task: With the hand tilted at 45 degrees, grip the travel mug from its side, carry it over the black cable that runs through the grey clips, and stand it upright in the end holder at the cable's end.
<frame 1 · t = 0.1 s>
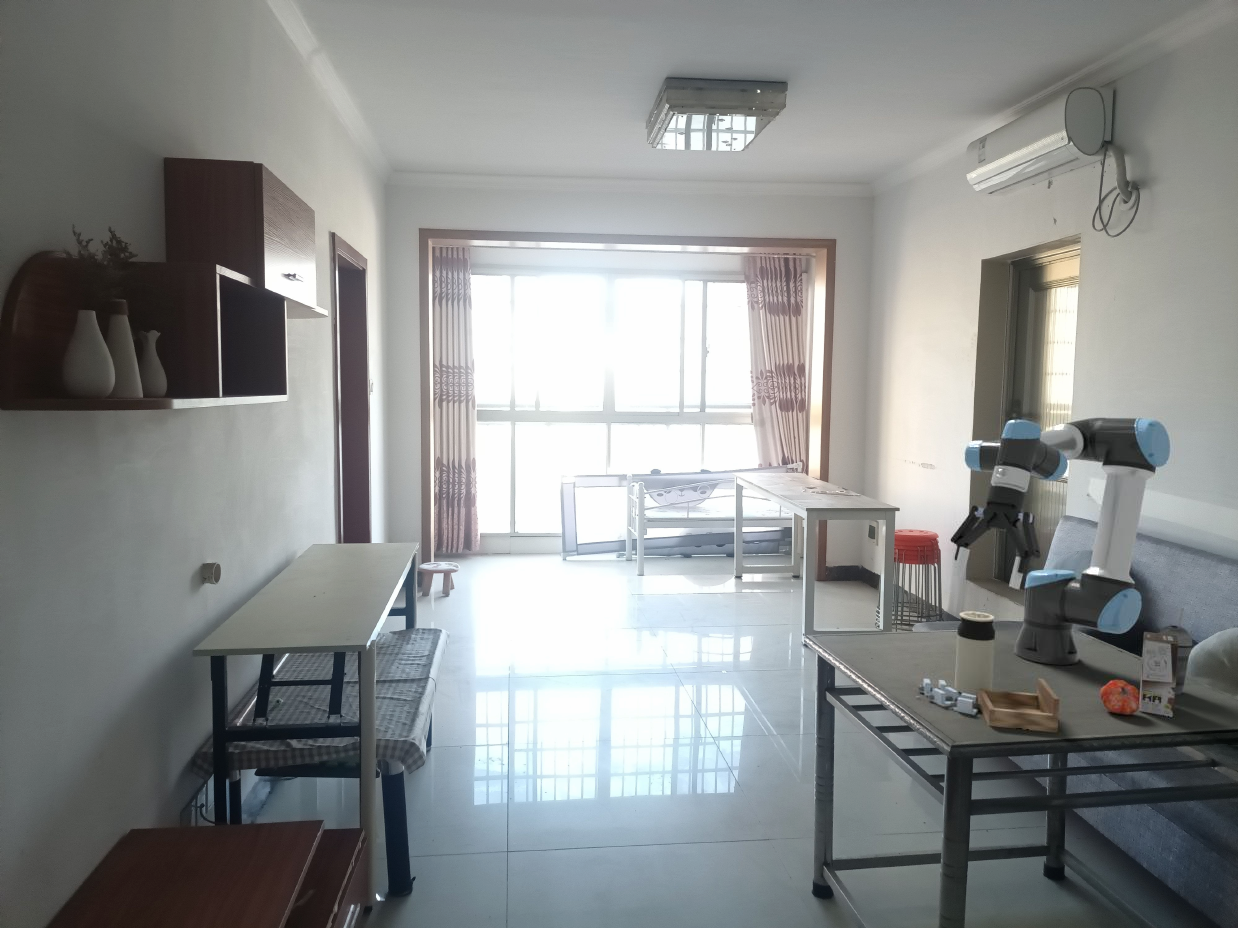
hand: (985, 581, 184), 28 cm above the table, tool tilted 20°, fingers open, 13 cm apart
coffee box: (1155, 709, 187), on the table
end holder: (1015, 717, 180), on the table
travel mug: (972, 692, 195), on the table
beverage cup: (1170, 691, 199), on the table
pomegranate: (1118, 713, 184), on the table
cable route: (952, 703, 187), on the table
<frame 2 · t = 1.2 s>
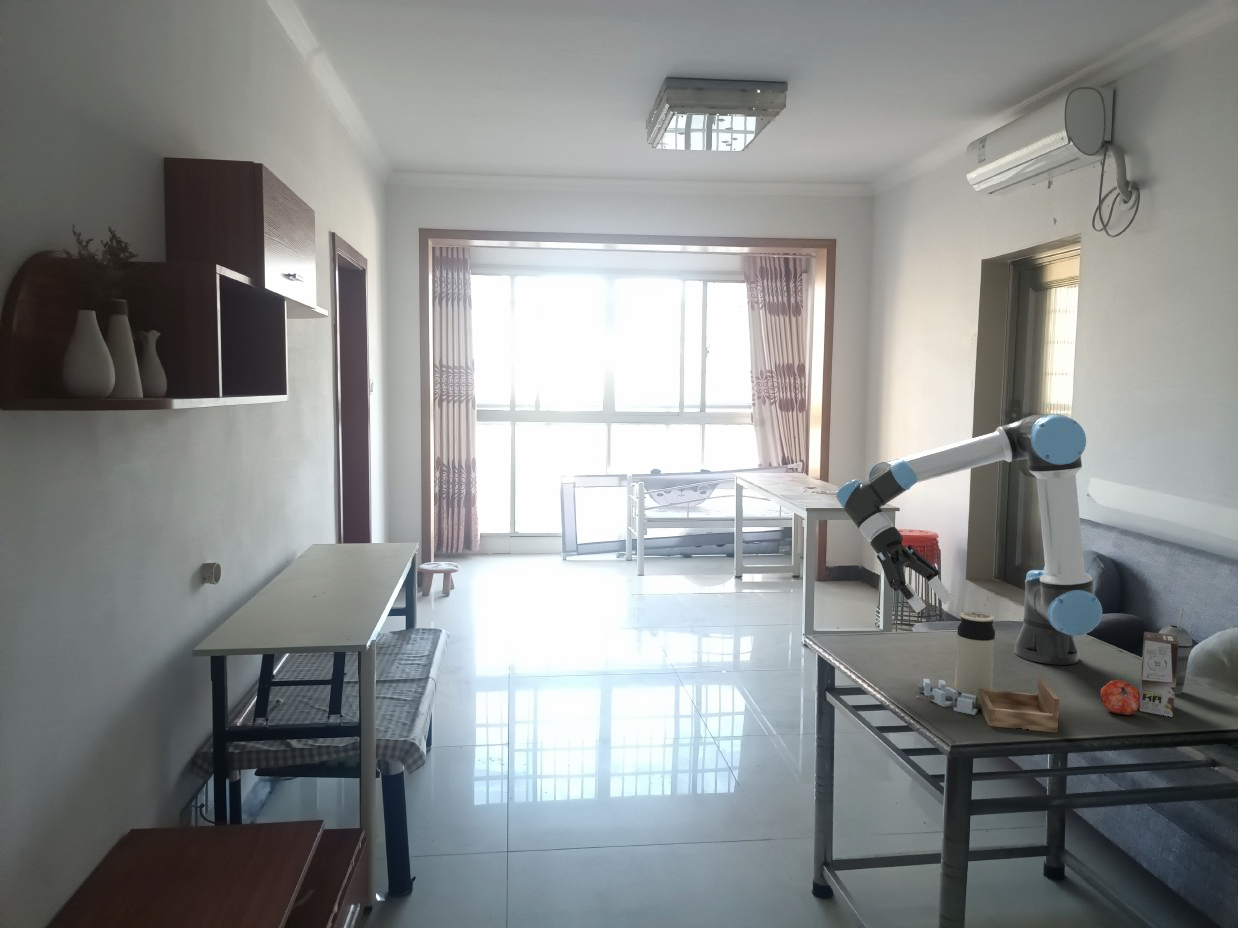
hand: (935, 605, 202), 18 cm above the table, tool tilted 45°, fingers open, 13 cm apart
nothing on the table moved.
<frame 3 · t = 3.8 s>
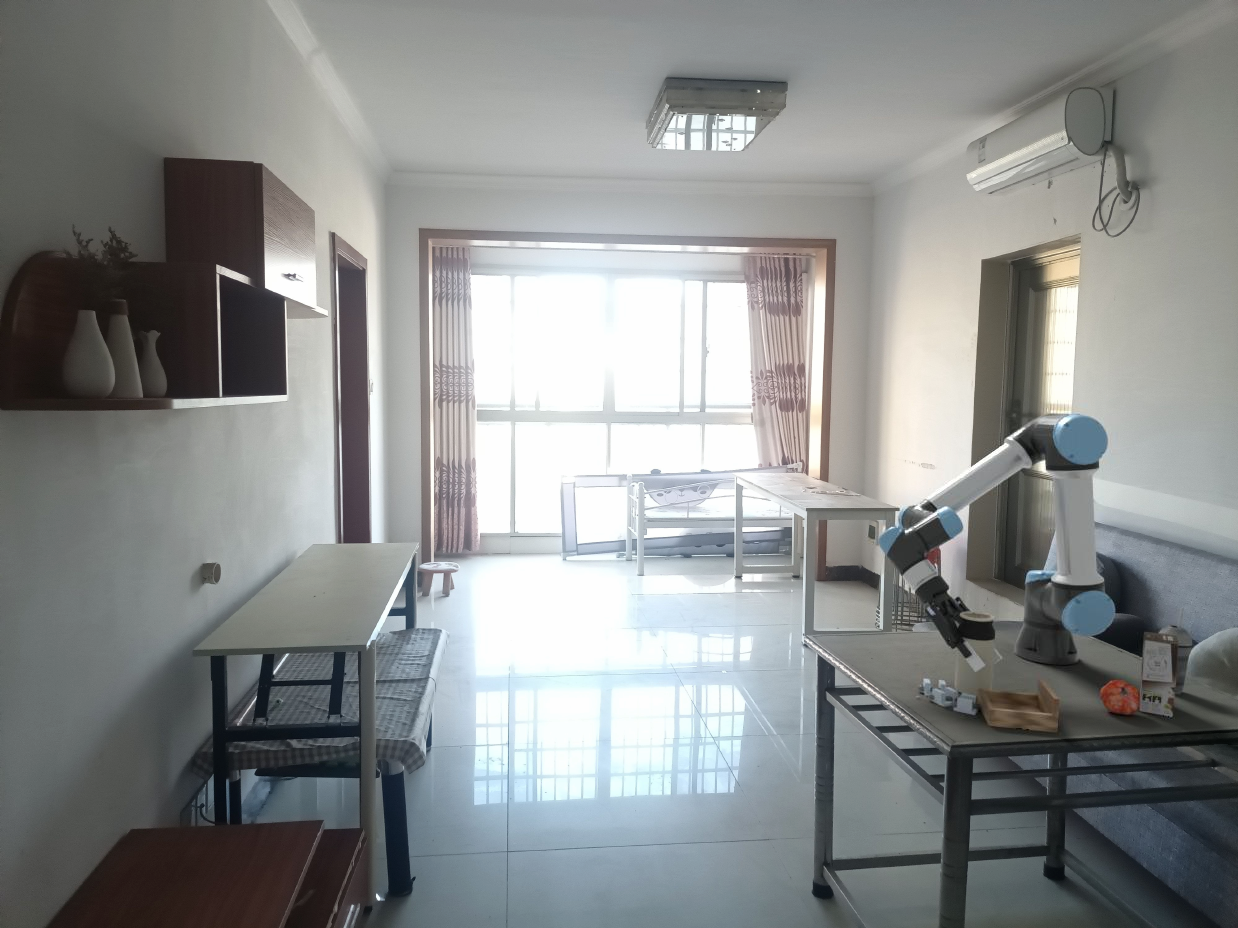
hand: (989, 664, 192), 7 cm above the table, tool tilted 45°, fingers closed on travel mug, 8 cm apart
travel mug: (973, 692, 195), on the table, touching gripper
everything else where it was.
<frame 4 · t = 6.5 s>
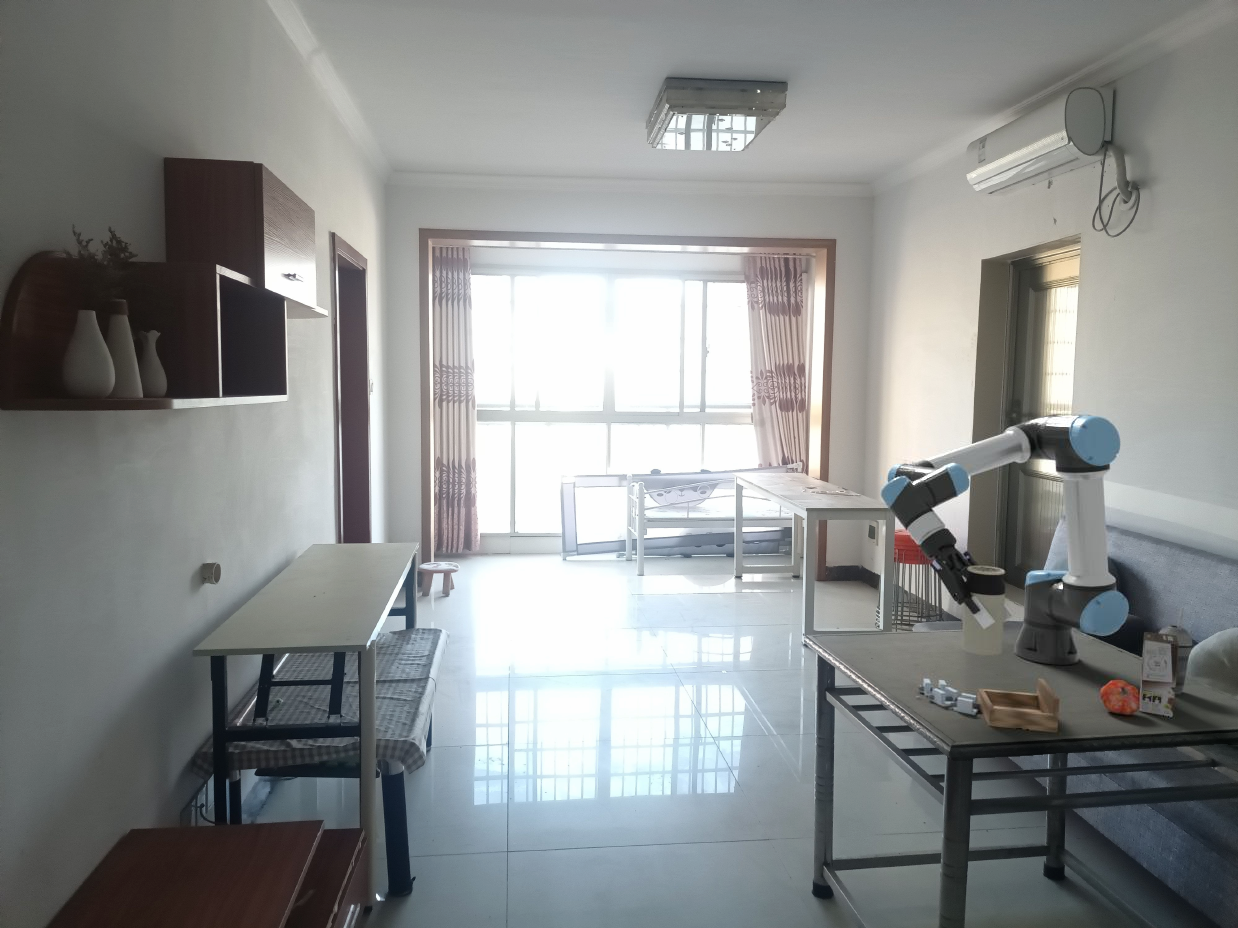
hand: (999, 621, 180), 20 cm above the table, tool tilted 45°, fingers closed on travel mug, 8 cm apart
travel mug: (981, 651, 183), point 13 cm above the table, touching gripper
everything else where it was.
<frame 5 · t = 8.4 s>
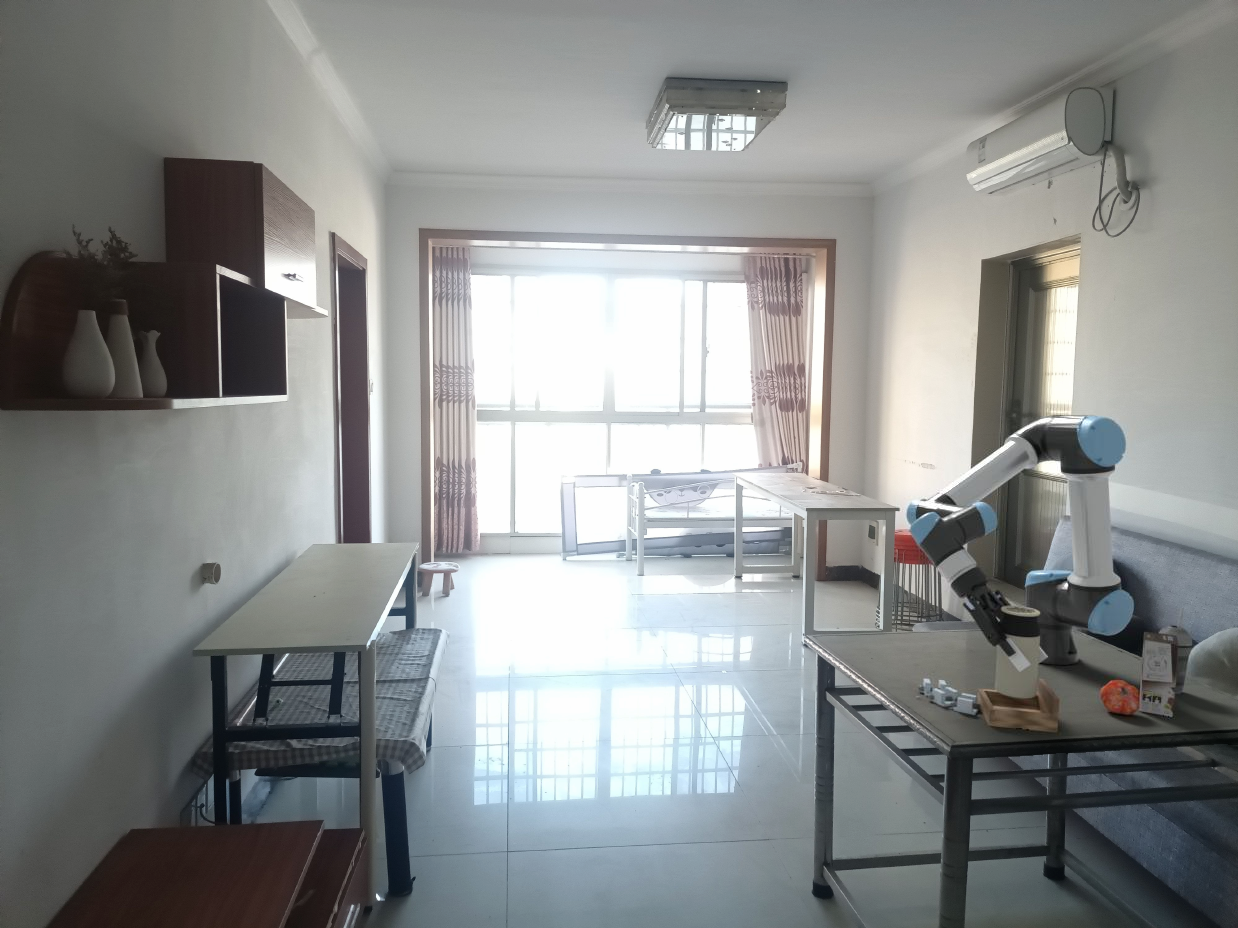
hand: (1033, 664, 176), 13 cm above the table, tool tilted 45°, fingers closed on travel mug, 8 cm apart
travel mug: (1015, 693, 179), point 5 cm above the table, touching gripper
everything else where it was.
when the fingers open (10 cm above the table, at t = 9.4 s): travel mug drops 1 cm, resting on end holder.
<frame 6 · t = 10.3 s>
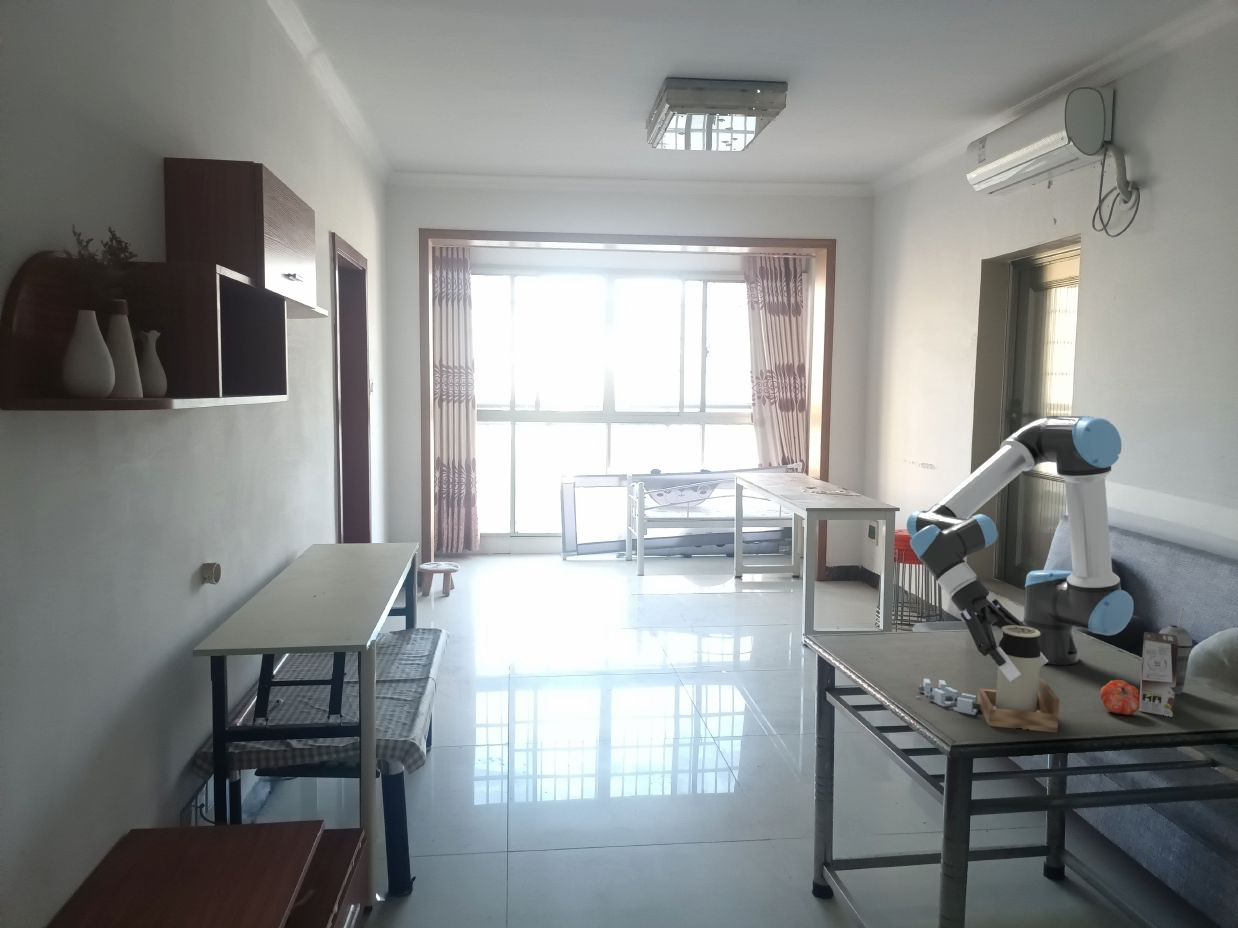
hand: (1029, 671, 177), 11 cm above the table, tool tilted 45°, fingers open, 13 cm apart
travel mug: (1015, 713, 180), point 1 cm above the table, touching end holder
everything else where it was.
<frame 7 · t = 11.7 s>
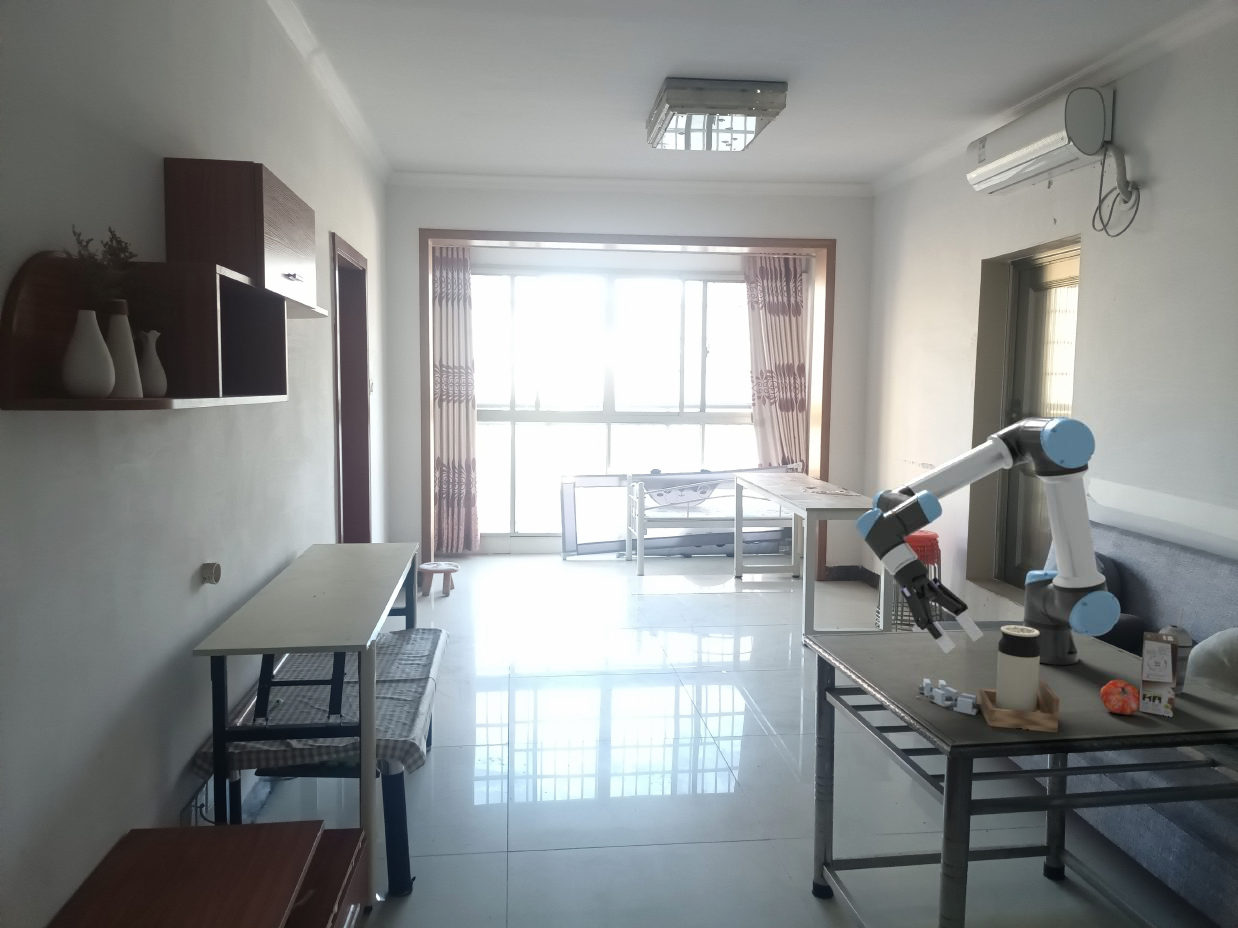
hand: (965, 644, 188), 13 cm above the table, tool tilted 45°, fingers open, 13 cm apart
nothing on the table moved.
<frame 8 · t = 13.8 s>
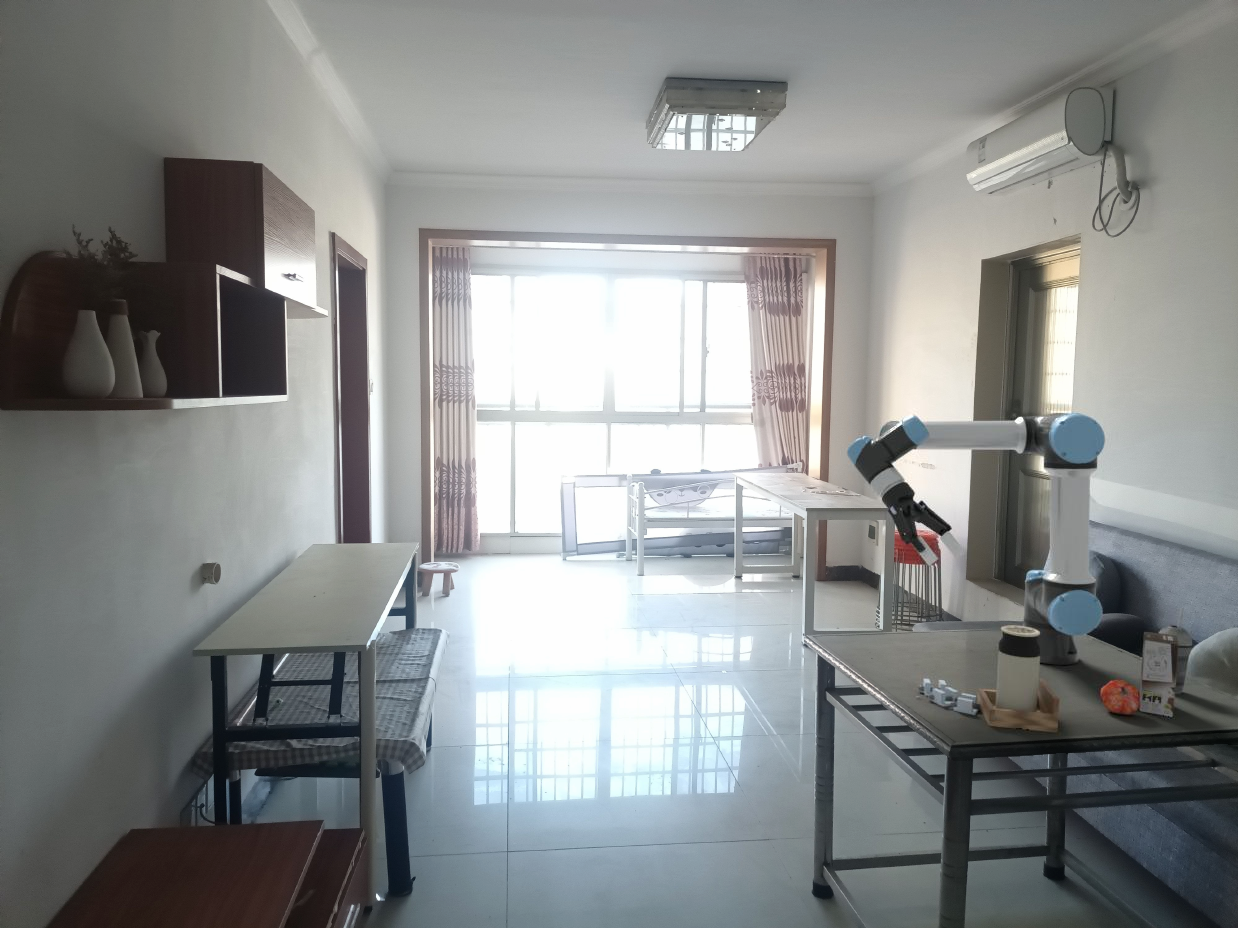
hand: (947, 559, 200), 30 cm above the table, tool tilted 45°, fingers open, 13 cm apart
nothing on the table moved.
at the end: travel mug inside the target area on the end holder (0.2 cm from its centre), point 0.8 cm above the end holder's base; travel mug tilted 0°; the gripper is holding nothing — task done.
